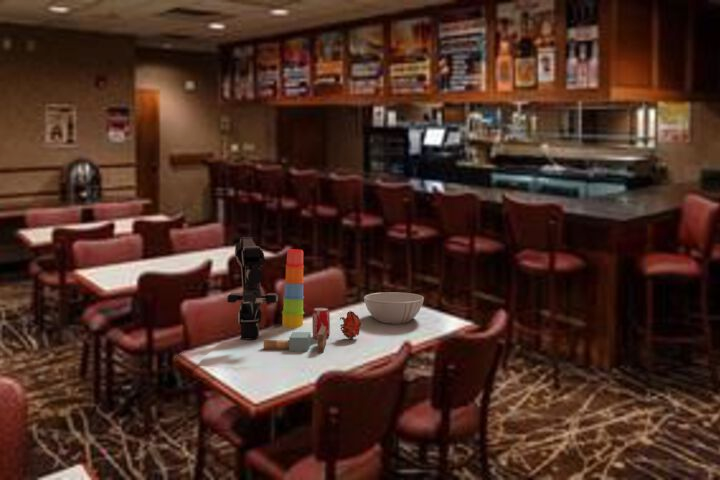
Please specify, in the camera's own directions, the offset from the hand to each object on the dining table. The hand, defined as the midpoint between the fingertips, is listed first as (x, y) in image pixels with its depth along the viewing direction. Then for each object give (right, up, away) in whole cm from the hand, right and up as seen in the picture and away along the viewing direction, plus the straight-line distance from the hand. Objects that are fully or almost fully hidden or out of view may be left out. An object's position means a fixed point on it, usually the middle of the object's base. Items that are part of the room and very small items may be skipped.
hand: (253, 319), depth 261 cm
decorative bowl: (+56, -7, +44) cm, 72 cm away
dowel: (+9, -10, +1) cm, 14 cm away
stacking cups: (+12, -8, +33) cm, 36 cm away
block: (+18, -11, 0) cm, 21 cm away
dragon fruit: (+38, -10, +15) cm, 42 cm away
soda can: (+25, -10, +17) cm, 32 cm away
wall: (+26, -11, 0) cm, 29 cm away
